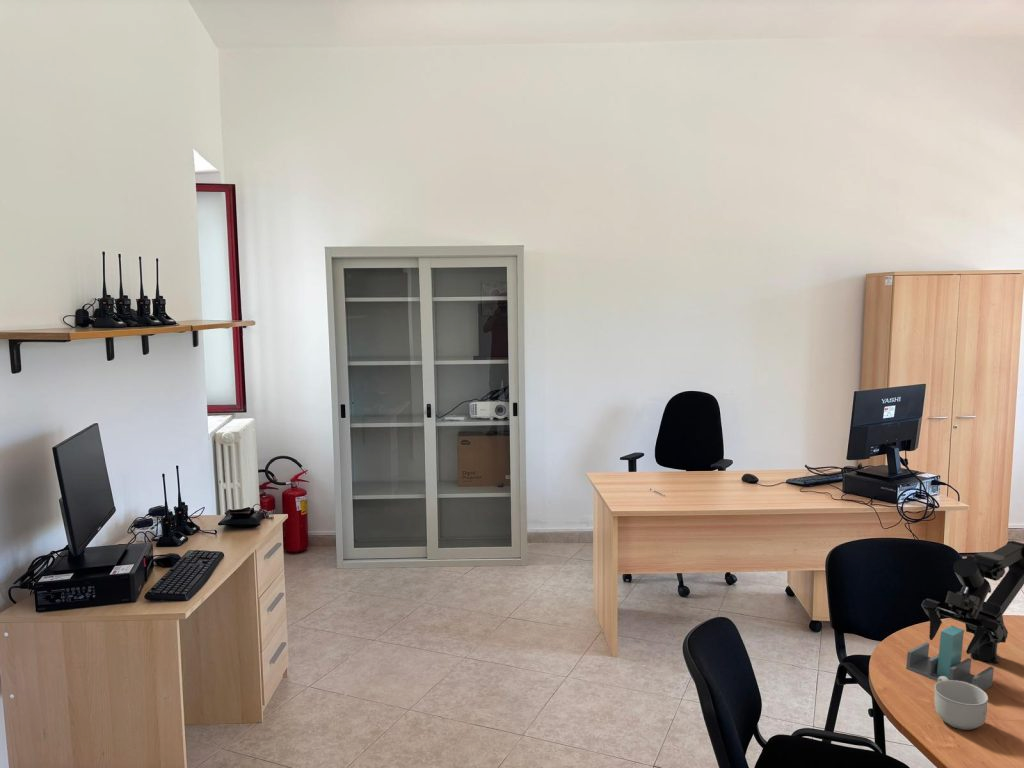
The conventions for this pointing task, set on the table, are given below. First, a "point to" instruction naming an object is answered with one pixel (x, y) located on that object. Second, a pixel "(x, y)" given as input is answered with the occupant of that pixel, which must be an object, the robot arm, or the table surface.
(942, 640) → the block
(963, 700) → the teacup
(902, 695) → the table surface
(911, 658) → the rack
